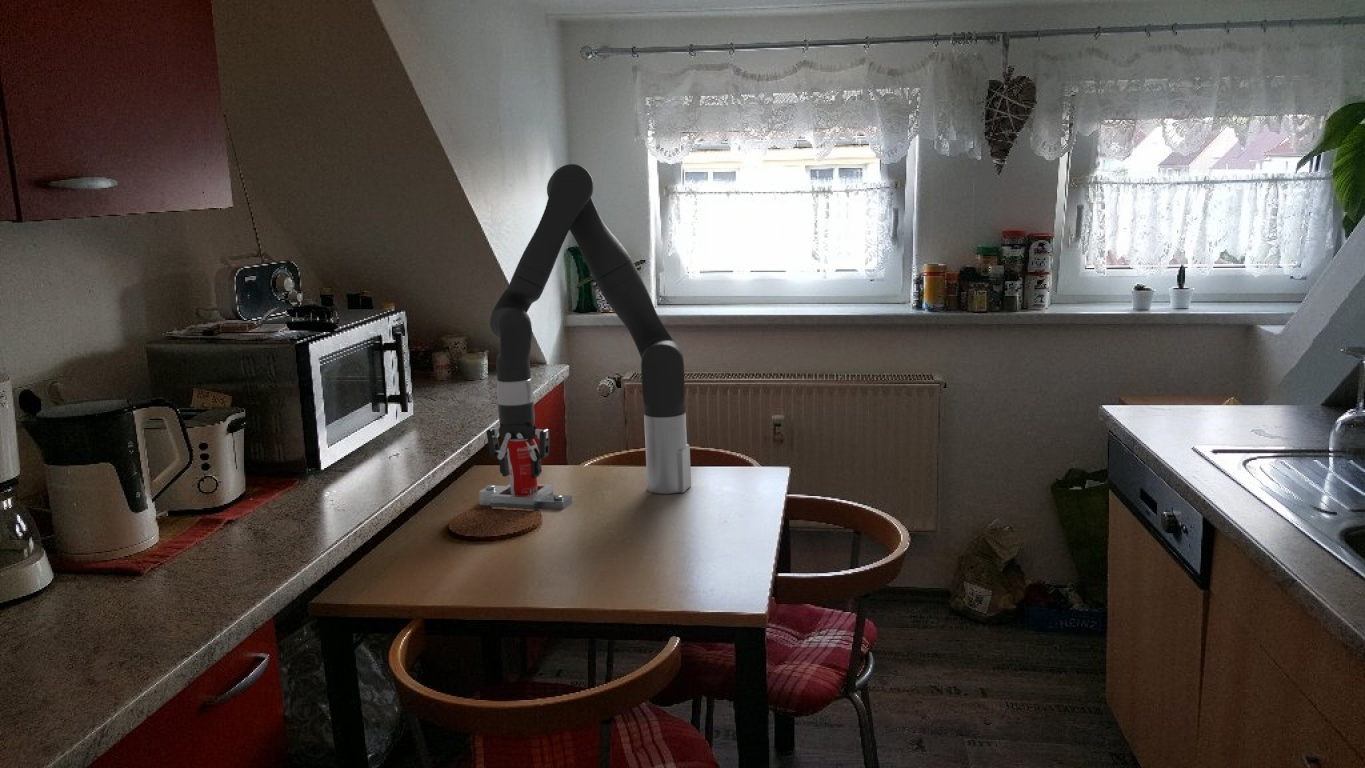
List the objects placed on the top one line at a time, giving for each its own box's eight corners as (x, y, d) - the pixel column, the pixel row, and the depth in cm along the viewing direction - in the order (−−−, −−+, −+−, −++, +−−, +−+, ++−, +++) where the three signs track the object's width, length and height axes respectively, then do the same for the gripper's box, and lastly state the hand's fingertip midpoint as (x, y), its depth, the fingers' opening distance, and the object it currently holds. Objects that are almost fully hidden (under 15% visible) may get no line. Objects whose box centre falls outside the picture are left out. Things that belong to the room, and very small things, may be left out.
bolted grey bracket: (576, 499, 213) (575, 483, 212) (558, 513, 204) (557, 496, 203) (495, 495, 219) (494, 479, 218) (474, 508, 209) (473, 492, 208)
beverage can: (541, 498, 214) (538, 432, 212) (534, 507, 208) (530, 439, 205) (514, 498, 215) (511, 432, 212) (506, 507, 208) (503, 439, 206)
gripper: (554, 397, 209) (558, 472, 212) (493, 396, 213) (498, 470, 216) (539, 404, 202) (544, 482, 205) (476, 403, 206) (482, 479, 209)
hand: (520, 475), depth 210 cm, fingers open, 6 cm apart
